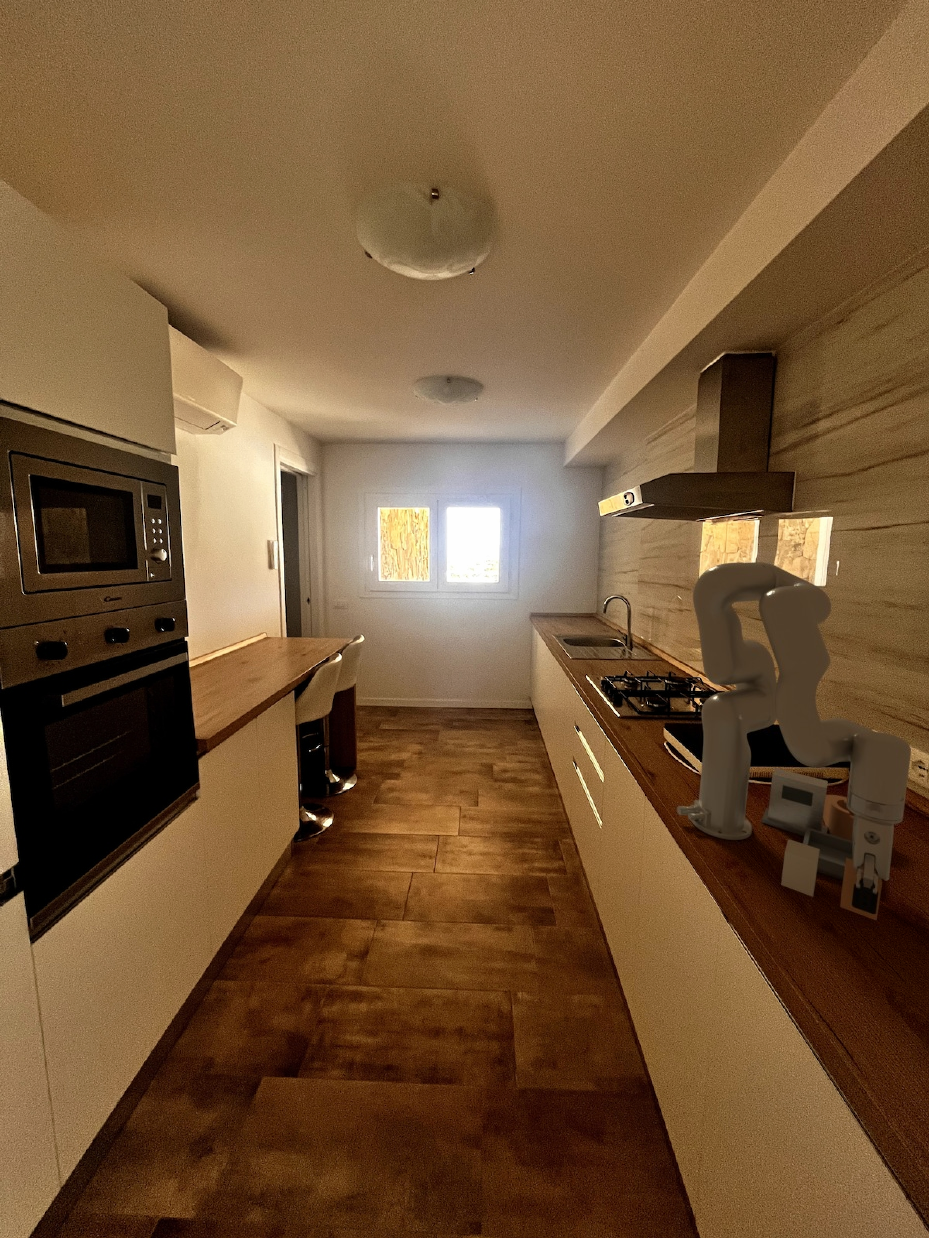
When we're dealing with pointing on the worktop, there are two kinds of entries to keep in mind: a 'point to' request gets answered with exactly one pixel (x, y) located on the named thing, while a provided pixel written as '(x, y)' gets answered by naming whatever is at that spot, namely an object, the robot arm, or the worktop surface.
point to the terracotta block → (848, 887)
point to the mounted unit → (796, 802)
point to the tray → (829, 852)
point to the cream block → (800, 867)
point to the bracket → (838, 817)
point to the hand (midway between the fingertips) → (863, 894)
